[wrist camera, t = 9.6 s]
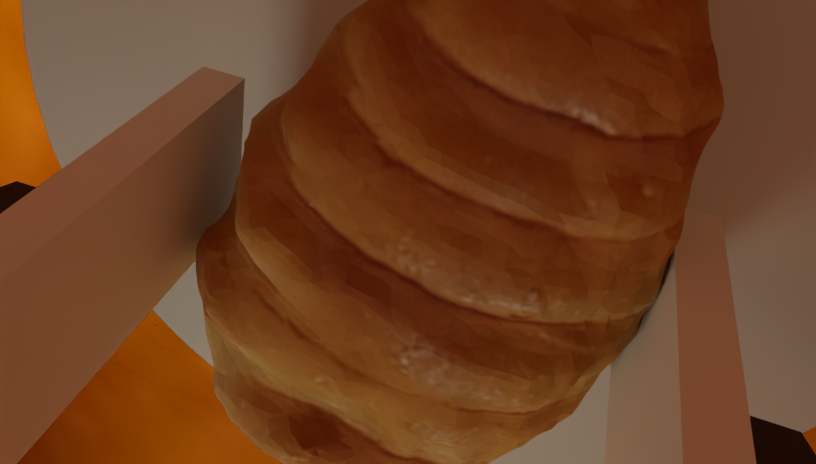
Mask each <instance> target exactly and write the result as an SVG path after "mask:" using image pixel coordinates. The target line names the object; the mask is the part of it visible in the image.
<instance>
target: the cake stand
mask: <svg viewBox="0 0 816 464" xmlns="http://www.w3.org/2000/svg"><path fill="white" fill-rule="evenodd" d="M366 1H367V0H21V6H22V18H23V30H24V41H25V46H26V51H27V56H28V61H29V66H30V71H31V76H32V81H33V86H34V91H35V95H36V98H37V101H38V105H39V108H40V111H41V114H42V117H43V120H44V124H45V127H46V130H47V133H48V136H49V139H50V143H51V145H52V147H53V150H54V152H55V154H56V157H57V159H58V161H59V164H60V166H61V168H62V169H63V168H64V167H65V166H67V165H68V164H69V163H71V162H72V161H74V160H75V159H76V158H78V157H79V156H80V155H82V154H83V153H85V152H86V151H87V150H89V149H90V148H91V147H93V146H94V145H96V144H97V143H98V142H100V141H101V140H102V139H104V138H105V137H107V136H108V135H109V134H111V133H112V132H113V131H115V130H116V129H118V128H119V127H120V126H122V125H123V124H124V123H126V122H127V121H129V120H130V119H131V118H133V117H134V116H136V115H137V114H138V113H140V112H141V111H142V110H144V109H145V108H147V107H148V106H149V105H151V104H152V103H153V102H155V101H156V100H158V99H159V98H160V97H162V96H163V95H164V94H166V93H167V92H169V91H170V90H171V89H173V88H174V87H175V86H177V85H178V84H180V83H181V82H182V81H184V80H185V79H186V78H188V77H189V76H191V75H192V74H193V73H195V72H196V71H197V70H199V69H200V68H202V67H203V66H204V67H207V68H211V69H214V70H218V71H221V72H224V73H228V74H231V75H235V76H238V77H242V78H245V88H244V110H243V132H242V154H241V160H242V157H243V153H244V142H245V140H246V139H247V137H248V135H249V131H250V125H251V120H252V118H253V117H254V116H256V115H257V114H258V113H259V112H260V111H261V110H262V109H263V108H264V107H265V106H266V105H267V104H268V103H269V102H271V101H272V100H274V99H276V98H277V97H279V96H281V95H283V94H284V93H285V92H287V91H288V90H289V89H291V88H292V87H293V86H295V85H296V84H297V83H298V81H299V80H300V79H301V78H302V77H303V76H304V75H305V73H306V72H307V70H308V69H310V67H311V65H312V63H313V61H314V59H315V57H316V55H317V53H318V51H319V49H320V48H321V46H322V45H323V44H324V42H325V41H326V39H327V37H328V36H329V34H330V33H331V31H332V30H333V28H334V26H335V25H336V24H337V23H338V22H339V21H340V20H341V18H343V17H344V16H345V15H346V14H348V13H349V12H350V11H352V10H353V9H355V8H357V7H358V6H360V5H361V4H363V3H365V2H366ZM708 8H709V19H710V28H711V38H712V41H713V45H714V49H715V52H716V56H717V60H718V70H719V78H720V81H721V84H722V88H723V96H724V105H725V106H724V109H723V113H722V116H721V120H720V123H719V125H718V126H717V128H716V129H715V131H714V133H713V134H712V136H711V137H710V139H709V141H708V142H707V144H706V145H705V147H704V150H703V152H702V154H701V157H700V159H699V161H698V164H697V166H696V170H695V174H694V178H693V181H692V184H691V190H690V197H689V200H688V203H687V206H686V207H687V208H690V209H694V210H697V211H701V212H704V213H708V214H711V215H714V216H718V217H721V218H722V223H723V230H724V237H725V244H726V251H727V258H728V265H729V273H730V280H731V287H732V294H733V301H734V308H735V315H736V322H737V329H738V337H739V344H740V351H741V358H742V365H743V372H744V379H745V386H746V393H747V401H748V408H749V415H750V416H753V417H756V418H759V419H762V420H765V421H769V422H772V423H775V424H778V425H781V426H784V427H787V428H790V429H793V430H796V431H800V432H801V433H803V432H805V431H807V430H809V429H811V428H813V427H815V426H816V0H709V1H708ZM153 311H154V312H155V313H156V314H157V315H158V316H159V317H160V318H161V319H162V320H163V321H164V322H165V323H166V324H167V325H168V326H169V327H170V328H171V329H172V330H173V331H174V332H175V333H176V334H177V335H178V336H179V337H180V338H181V339H182V340H183V341H184V342H185V343H186V344H187V345H188V346H189V347H190V348H191V349H193V350H194V351H195V352H196V353H197V354H199V355H200V356H201V357H202V358H203V359H204V360H206V361H207V362H208V363H209V364H210V365H211V366H213V367H214V365H213V360H212V355H211V351H210V347H209V344H208V340H207V335H206V330H205V323H204V309H203V302H202V299H201V296H200V294H199V290H198V284H197V276H196V261H195V262H194V263H193V264H192V265H191V266H190V267H189V269H188V270H187V271H186V272H185V273H184V274H183V275H182V276H181V278H180V279H179V280H178V281H177V282H176V283H175V284H174V286H173V287H172V288H171V289H170V290H169V291H168V292H167V294H166V295H165V296H164V297H163V298H162V299H161V300H160V302H159V303H158V304H157V305H156V306H155V307H154V308H153ZM610 375H611V364H610V365H609V366H607V367H606V368H605V369H604V370H603V371H602V372H601V373H600V374H599V376H598V378H597V379H596V381H595V383H594V384H593V386H592V387H591V388H590V390H589V391H588V392H587V393H586V395H585V396H584V398H583V400H582V401H581V403H580V404H579V406H578V407H577V409H576V410H575V411H574V412H573V414H572V415H570V416H569V417H567V418H565V419H564V420H562V421H561V422H559V423H557V424H556V425H555V426H554V427H553V428H552V429H550V430H548V431H546V432H544V433H541V434H539V435H537V436H536V437H534V438H533V439H531V440H530V441H529V442H527V443H526V444H525V445H523V446H521V447H519V448H517V449H514V450H512V451H510V452H508V453H506V454H504V455H503V456H501V457H499V458H497V459H495V460H493V461H491V462H490V463H488V464H604V461H605V447H606V432H607V418H608V404H609V389H610Z"/></svg>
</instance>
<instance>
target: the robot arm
mask: <svg viewBox="0 0 816 464" xmlns="http://www.w3.org/2000/svg"><path fill="white" fill-rule="evenodd" d="M244 88H245V78H242V77H238V76H235V75H231V74H228V73H224V72H221V71H218V70H214V69H211V68H207V67H204V66H203V67H202V68H200V69H199V70H197V71H196V72H195V73H193V74H192V75H191V76H189V77H188V78H186V79H185V80H184V81H182V82H181V83H180V84H178V85H177V86H175V87H174V88H173V89H171V90H170V91H169V92H167V93H166V94H164V95H163V96H162V97H160V98H159V99H158V100H156V101H155V102H153V103H152V104H151V105H149V106H148V107H147V108H145V109H144V110H142V111H141V112H140V113H138V114H137V115H136V116H134V117H133V118H131V119H130V120H129V121H127V122H126V123H124V124H123V125H122V126H120V127H119V128H118V129H116V130H115V131H113V132H112V133H111V134H109V135H108V136H107V137H105V138H104V139H102V140H101V141H100V142H98V143H97V144H96V145H94V146H93V147H91V148H90V149H89V150H87V151H86V152H85V153H83V154H82V155H80V156H79V157H78V158H76V159H75V160H74V161H72V162H71V163H69V164H68V165H67V166H65V167H64V168H63V169H61V170H60V171H58V172H57V173H56V174H54V175H53V176H52V177H50V178H49V179H47V180H46V181H45V182H43V183H42V184H41V185H39V186H38V187H33V186H30V185H27V184H24V183H20V182H17V181H16V182H14V183H11V184H8V185H5V186H2V187H0V464H17V463H18V462H19V461H20V460H21V459H22V458H23V456H24V455H25V454H26V453H27V452H28V451H29V450H30V449H31V447H32V446H33V445H34V444H35V443H36V442H37V441H38V439H39V438H40V437H41V436H42V435H43V434H44V433H45V431H46V430H47V429H48V428H49V427H50V426H51V425H52V423H53V422H54V421H55V420H56V419H57V418H58V417H59V415H60V414H61V413H62V412H63V411H64V410H65V409H66V408H67V406H68V405H69V404H70V403H71V402H72V401H73V400H74V398H75V397H76V396H77V395H78V394H79V393H80V392H81V390H82V389H83V388H84V387H85V386H86V385H87V384H88V382H89V381H90V380H91V379H92V378H93V377H94V376H95V374H96V373H97V372H98V371H99V370H100V369H101V368H102V366H103V365H104V364H105V363H106V362H107V361H108V360H109V359H110V357H111V356H112V355H113V354H114V353H115V352H116V351H117V349H118V348H119V347H120V346H121V345H122V344H123V343H124V341H125V340H126V339H127V338H128V337H129V336H130V335H131V333H132V332H133V331H134V330H135V329H136V328H137V327H138V325H139V324H140V323H141V322H142V321H143V320H144V319H145V317H146V316H147V315H148V314H149V313H150V312H151V311H152V310H153V308H154V307H155V306H156V305H157V304H158V303H159V302H160V300H161V299H162V298H163V297H164V296H165V295H166V294H167V292H168V291H169V290H170V289H171V288H172V287H173V286H174V284H175V283H176V282H177V281H178V280H179V279H180V278H181V276H182V275H183V274H184V273H185V272H186V271H187V270H188V269H189V267H190V266H191V265H192V264H193V263H194V262H195V261H196V248H197V244H198V242H199V240H200V238H201V236H202V235H203V233H204V232H205V230H206V229H207V228H208V227H209V226H211V225H213V224H214V223H216V222H217V221H218V220H219V219H220V218H221V216H222V215H223V214H224V213H225V211H226V210H227V209H228V208H229V205H230V202H231V199H232V197H233V194H234V191H235V189H234V187H235V182H236V180H237V178H238V176H239V173H240V165H241V154H242V132H243V110H244ZM604 464H816V455H815V453H814V452H813V450H812V449H811V447H810V445H809V444H808V442H807V441H806V439H805V438H804V436H803V434H802V433H801V432H800V431H796V430H793V429H790V428H787V427H784V426H781V425H778V424H775V423H772V422H769V421H765V420H762V419H759V418H756V417H753V416H750V415H749V408H748V401H747V393H746V386H745V379H744V372H743V365H742V358H741V351H740V344H739V337H738V329H737V322H736V315H735V308H734V301H733V294H732V287H731V280H730V273H729V265H728V258H727V251H726V244H725V237H724V230H723V223H722V218H721V217H718V216H714V215H711V214H708V213H704V212H701V211H697V210H694V209H690V208H687V207H686V210H685V216H684V223H683V229H682V233H681V237H680V239H679V241H678V243H677V245H676V246H675V248H674V250H673V252H672V253H671V255H670V257H669V258H668V261H667V265H666V270H665V273H664V277H663V280H662V284H661V287H660V290H659V292H658V294H657V297H656V299H655V301H654V303H653V304H652V305H651V306H650V307H649V309H648V310H647V311H646V312H645V313H644V315H643V317H642V320H641V323H640V326H639V329H638V332H637V334H636V336H635V337H634V339H633V340H632V341H631V342H630V343H629V344H628V345H627V347H626V348H625V349H624V350H623V351H622V352H621V354H620V355H619V356H618V357H617V358H616V359H615V361H614V362H612V363H611V375H610V389H609V404H608V418H607V432H606V447H605V461H604Z"/></svg>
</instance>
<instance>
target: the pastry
mask: <svg viewBox="0 0 816 464" xmlns="http://www.w3.org/2000/svg"><path fill="white" fill-rule="evenodd" d="M708 1H709V0H367V1H366V2H365V3H363V4H361V5H360V6H358V7H357V8H355V9H353V10H352V11H350V12H349V13H348V14H346V15H345V16H344V17H343V18H341V20H340V21H339V22H338V23H337V24H336V25H335V26H334V28H333V30H332V31H331V33H330V34H329V36H328V37H327V39H326V41H325V42H324V44H323V45H322V46H321V48H320V49H319V51H318V53H317V55H316V57H315V59H314V61H313V63H312V65H311V67H310V69H308V70H307V72H306V73H305V75H304V76H303V77H302V78H301V79H300V80H299V81H298V83H297V84H296V85H295V86H293V87H292V88H291V89H289V90H288V91H287V92H285V93H284V94H283V95H281V96H279V97H277V98H276V99H274V100H272V101H271V102H269V103H268V104H267V105H266V106H265V107H264V108H263V109H262V110H261V111H260V112H259V113H258V114H257V115H256V116H254V117H253V118H252V120H251V125H250V131H249V135H248V137H247V139H246V140H245V142H244V153H243V157H242V160H241V165H240V173H239V176H238V178H237V180H236V182H235V187H234V189H235V191H234V194H233V197H232V199H231V202H230V205H229V208H228V209H227V210H226V211H225V213H224V214H223V215H222V216H221V218H220V219H219V220H218V221H217V222H216V223H214V224H213V225H211V226H209V227H208V228H207V229H206V230H205V232H204V233H203V235H202V236H201V238H200V240H199V242H198V244H197V248H196V276H197V284H198V290H199V294H200V296H201V299H202V302H203V309H204V323H205V330H206V335H207V340H208V344H209V347H210V351H211V355H212V360H213V365H214V391H215V395H216V397H217V398H218V399H219V400H220V401H221V403H222V404H223V406H224V408H225V410H226V412H227V415H228V416H229V418H230V419H231V420H232V421H233V422H234V423H235V425H236V426H237V427H238V428H239V429H240V430H241V431H243V432H244V433H245V434H246V435H247V436H248V437H249V438H250V439H251V440H252V441H253V442H254V443H255V444H256V445H257V446H258V447H259V448H260V449H261V450H262V451H264V452H265V453H267V454H269V455H271V456H272V457H274V458H275V459H277V460H278V461H280V462H281V463H283V464H488V463H490V462H491V461H493V460H495V459H497V458H499V457H501V456H503V455H504V454H506V453H508V452H510V451H512V450H514V449H517V448H519V447H521V446H523V445H525V444H526V443H527V442H529V441H530V440H531V439H533V438H534V437H536V436H537V435H539V434H541V433H544V432H546V431H548V430H550V429H552V428H553V427H554V426H555V425H556V424H557V423H559V422H561V421H562V420H564V419H565V418H567V417H569V416H570V415H572V414H573V412H574V411H575V410H576V409H577V407H578V406H579V404H580V403H581V401H582V400H583V398H584V396H585V395H586V393H587V392H588V391H589V390H590V388H591V387H592V386H593V384H594V383H595V381H596V379H597V378H598V376H599V374H600V373H601V372H602V371H603V370H604V369H605V368H606V367H607V366H609V365H610V364H611V363H612V362H614V361H615V359H616V358H617V357H618V356H619V355H620V354H621V352H622V351H623V350H624V349H625V348H626V347H627V345H628V344H629V343H630V342H631V341H632V340H633V339H634V337H635V336H636V334H637V332H638V329H639V326H640V323H641V320H642V317H643V315H644V313H645V312H646V311H647V310H648V309H649V307H650V306H651V305H652V304H653V303H654V301H655V299H656V297H657V294H658V292H659V290H660V287H661V284H662V280H663V277H664V273H665V270H666V265H667V261H668V258H669V257H670V255H671V253H672V252H673V250H674V248H675V246H676V245H677V243H678V241H679V239H680V237H681V233H682V229H683V223H684V216H685V210H686V206H687V203H688V200H689V197H690V190H691V184H692V181H693V178H694V174H695V170H696V166H697V164H698V161H699V159H700V157H701V154H702V152H703V150H704V147H705V145H706V144H707V142H708V141H709V139H710V137H711V136H712V134H713V133H714V131H715V129H716V128H717V126H718V125H719V123H720V120H721V116H722V113H723V109H724V106H725V105H724V96H723V88H722V84H721V81H720V78H719V70H718V60H717V56H716V52H715V49H714V45H713V41H712V38H711V28H710V19H709V8H708Z"/></svg>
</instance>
